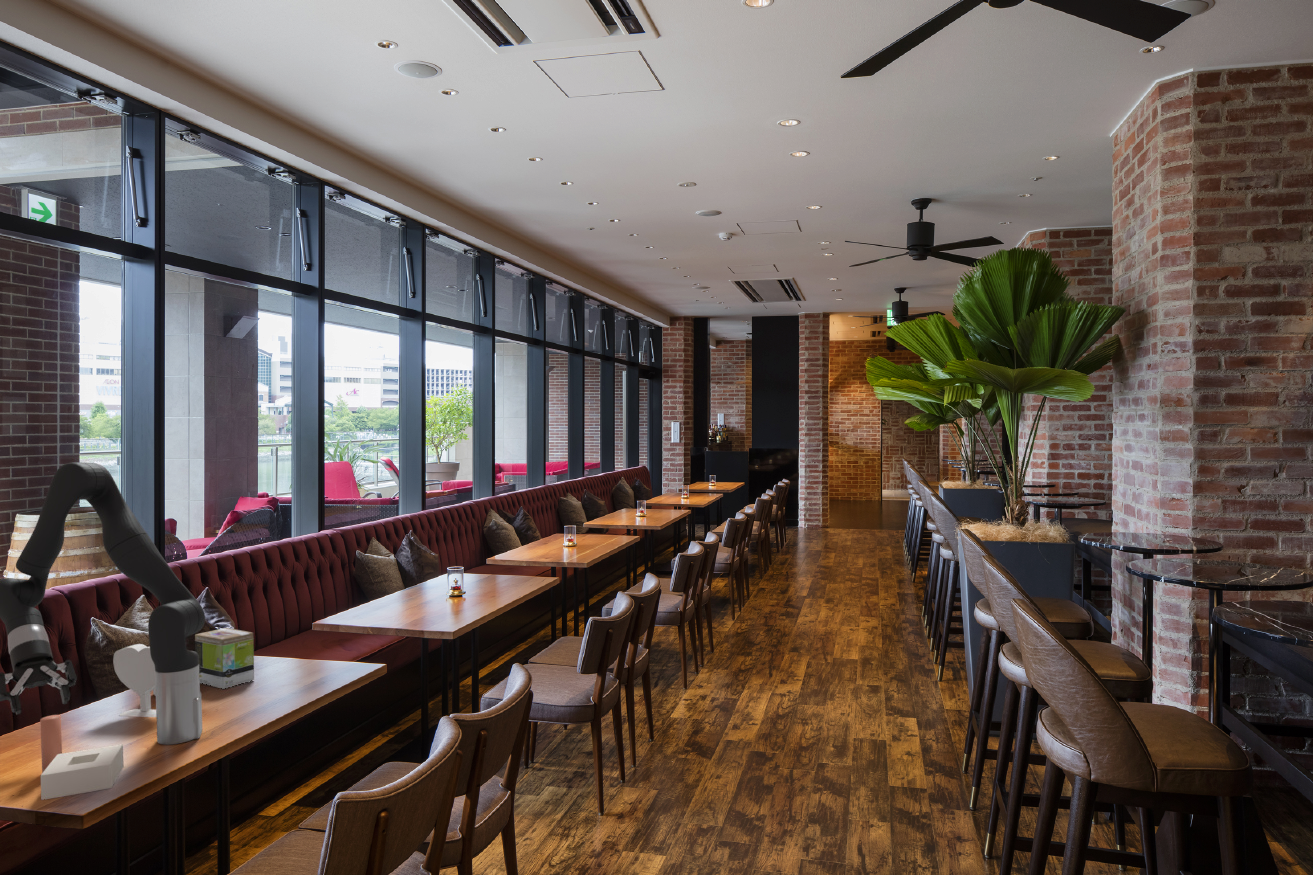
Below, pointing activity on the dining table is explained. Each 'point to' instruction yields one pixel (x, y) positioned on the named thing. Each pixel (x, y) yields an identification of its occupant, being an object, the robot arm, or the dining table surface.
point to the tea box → (225, 657)
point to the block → (82, 771)
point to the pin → (50, 739)
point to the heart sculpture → (137, 676)
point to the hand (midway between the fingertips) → (42, 706)
